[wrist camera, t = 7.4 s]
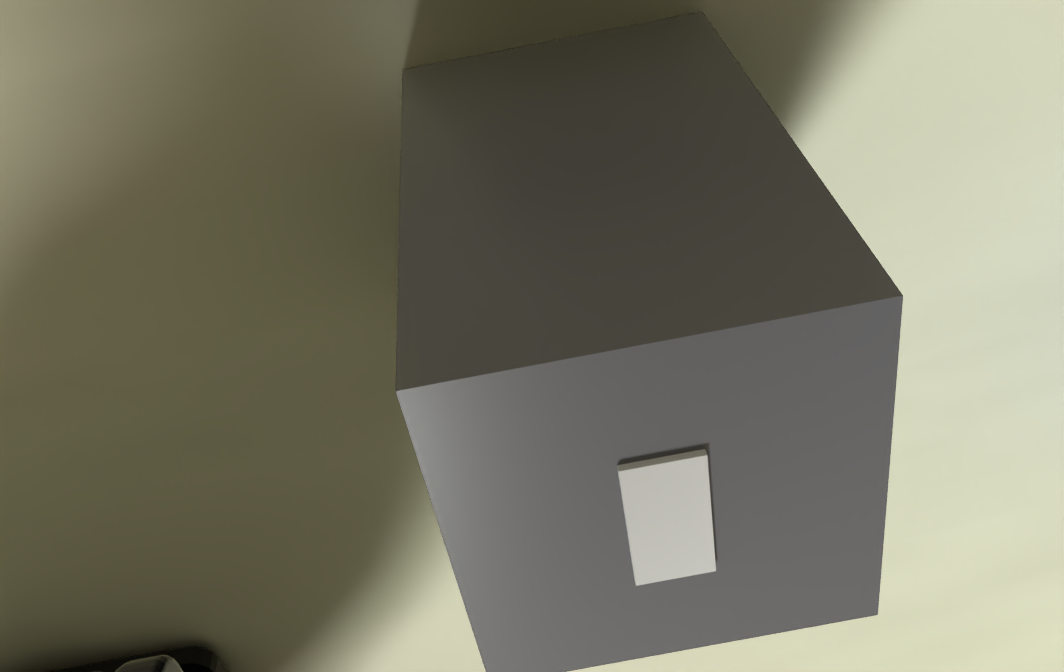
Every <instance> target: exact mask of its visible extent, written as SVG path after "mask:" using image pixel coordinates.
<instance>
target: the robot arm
mask: <svg viewBox="0 0 1064 672" xmlns="http://www.w3.org/2000/svg"><path fill="white" fill-rule="evenodd" d="M53 672H227V671H226V669H225V668H224V666H223V664H222V662H221V661H220V659H219V657H218V656H217V655H216V654H215V653H214V652H212V651H210V650H208V649H206V648H202V647H196V646H194V647H183V648H177V649H172V650H167V651H161V652H156V653H150V654H145V655H140V656H134V657H129V658H124V659H118V660H113V661H107V662H102V663H97V664H91V665H86V666H80V667H75V668H70V669H64V670H59V671H53Z"/></svg>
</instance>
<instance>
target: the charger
mask: <svg viewBox="0 0 1064 672" xmlns="http://www.w3.org/2000/svg"><path fill="white" fill-rule="evenodd" d="M902 301H903V295H902V294H901V292H900V291H899V289H898V288H897V287H896V285H895V284H894V282H893V281H892V279H891V278H890V277H889V275H888V274H887V272H886V271H885V270H884V268H883V267H882V265H881V264H880V263H879V261H878V260H877V258H876V257H875V255H874V254H873V253H872V251H871V250H870V248H869V247H868V246H867V244H866V243H865V241H864V240H863V239H862V237H861V236H860V234H859V233H858V231H857V230H856V229H855V227H854V226H853V224H852V223H851V222H850V220H849V219H848V217H847V216H846V215H845V213H844V212H843V210H842V209H841V207H840V206H839V205H838V203H837V202H836V200H835V199H834V198H833V196H832V195H831V193H830V192H829V190H828V189H827V188H826V186H825V185H824V183H823V182H822V181H821V179H820V178H819V176H818V175H817V174H816V172H815V171H814V169H813V168H812V166H811V165H810V164H809V162H808V161H807V159H806V158H805V157H804V155H803V154H802V152H801V151H800V150H799V148H798V147H797V145H796V144H795V142H794V141H793V140H792V138H791V137H790V135H789V134H788V133H787V131H786V130H785V128H784V127H783V126H782V124H781V123H780V121H779V120H778V118H777V117H776V116H775V114H774V113H773V111H772V110H771V109H770V107H769V106H768V104H767V103H766V102H765V100H764V99H763V97H762V96H761V94H760V93H759V92H758V90H757V89H756V87H755V86H754V85H753V83H752V82H751V80H750V79H749V78H748V76H747V75H746V73H745V72H744V70H743V69H742V68H741V66H740V65H739V63H738V62H737V61H736V59H735V58H734V56H733V55H732V54H731V52H730V51H729V49H728V48H727V46H726V45H725V44H724V42H723V41H722V39H721V38H720V37H719V35H718V34H717V32H716V31H715V30H714V28H713V27H712V25H711V24H710V22H709V21H708V20H707V18H706V17H705V15H704V14H703V13H702V12H697V13H691V14H686V15H681V16H676V17H671V18H666V19H661V20H655V21H650V22H645V23H640V24H635V25H630V26H625V27H620V28H614V29H609V30H604V31H599V32H594V33H589V34H584V35H578V36H573V37H568V38H563V39H558V40H553V41H548V42H543V43H537V44H532V45H527V46H522V47H517V48H512V49H507V50H502V51H496V52H491V53H486V54H481V55H476V56H471V57H466V58H460V59H455V60H450V61H445V62H440V63H435V64H430V65H425V66H419V67H414V68H409V69H404V70H403V75H402V121H401V166H400V212H399V257H398V303H397V348H396V394H397V397H398V400H399V403H400V407H401V410H402V413H403V416H404V419H405V422H406V425H407V428H408V431H409V434H410V438H411V441H412V444H413V447H414V450H415V453H416V456H417V459H418V462H419V465H420V469H421V472H422V475H423V478H424V481H425V484H426V487H427V490H428V493H429V496H430V500H431V503H432V506H433V509H434V512H435V515H436V518H437V521H438V524H439V527H440V531H441V534H442V537H443V540H444V543H445V546H446V549H447V552H448V555H449V558H450V562H451V565H452V568H453V571H454V574H455V577H456V580H457V583H458V586H459V589H460V593H461V596H462V599H463V602H464V605H465V608H466V611H467V614H468V617H469V620H470V624H471V627H472V630H473V633H474V636H475V639H476V642H477V645H478V648H479V651H480V655H481V658H482V661H483V664H484V667H485V670H486V672H567V671H572V670H578V669H583V668H589V667H594V666H599V665H605V664H610V663H616V662H621V661H627V660H632V659H638V658H643V657H649V656H654V655H660V654H665V653H671V652H676V651H682V650H687V649H693V648H698V647H704V646H709V645H715V644H720V643H726V642H731V641H737V640H742V639H748V638H753V637H759V636H764V635H770V634H775V633H781V632H786V631H792V630H797V629H802V628H808V627H813V626H819V625H824V624H830V623H835V622H841V621H846V620H852V619H857V618H863V617H868V616H874V615H878V604H879V592H880V579H881V566H882V554H883V541H884V528H885V516H886V503H887V491H888V478H889V465H890V453H891V440H892V427H893V415H894V402H895V390H896V377H897V364H898V352H899V339H900V327H901V314H902Z"/></svg>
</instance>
